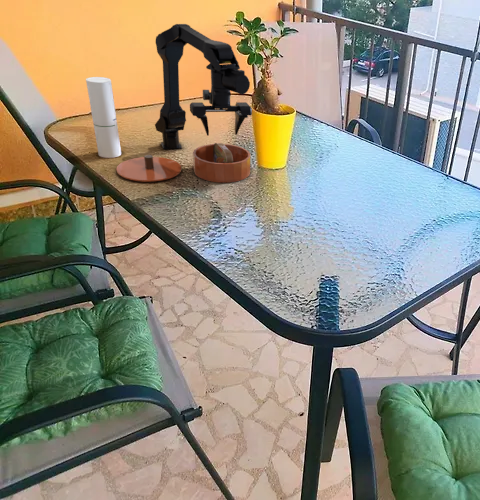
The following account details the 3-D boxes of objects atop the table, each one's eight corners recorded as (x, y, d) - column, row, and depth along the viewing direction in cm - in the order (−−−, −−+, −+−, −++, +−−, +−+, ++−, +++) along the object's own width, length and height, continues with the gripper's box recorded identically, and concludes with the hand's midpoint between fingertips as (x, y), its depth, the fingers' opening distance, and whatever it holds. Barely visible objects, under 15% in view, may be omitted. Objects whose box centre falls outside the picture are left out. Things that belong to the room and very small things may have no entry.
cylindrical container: (125, 152, 164) (115, 79, 151) (114, 158, 158) (103, 83, 145) (105, 149, 165) (94, 75, 152) (94, 155, 158) (81, 80, 145)
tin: (212, 162, 165) (211, 139, 161) (221, 161, 167) (220, 138, 162) (225, 179, 154) (225, 155, 150) (234, 178, 156) (234, 154, 152)
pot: (189, 162, 164) (188, 144, 160) (242, 159, 172) (242, 142, 168) (200, 184, 150) (199, 165, 146) (256, 180, 158) (257, 162, 155)
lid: (115, 161, 157) (112, 146, 154) (176, 158, 165) (175, 144, 163) (119, 185, 142) (116, 170, 140) (186, 180, 151) (185, 166, 148)
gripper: (243, 80, 156) (243, 126, 164) (185, 79, 148) (188, 127, 156) (252, 89, 148) (252, 137, 156) (191, 88, 140) (194, 139, 148)
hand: (221, 134), depth 154 cm, fingers open, 9 cm apart
